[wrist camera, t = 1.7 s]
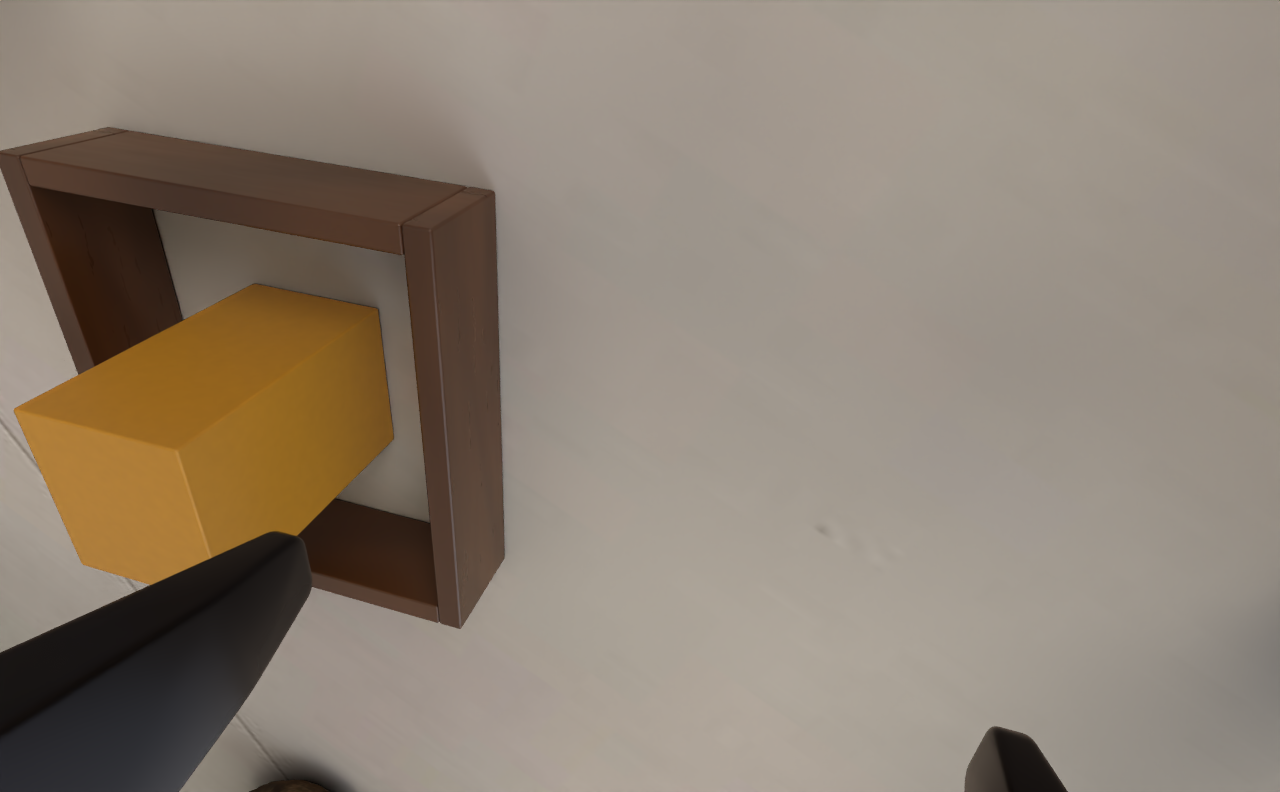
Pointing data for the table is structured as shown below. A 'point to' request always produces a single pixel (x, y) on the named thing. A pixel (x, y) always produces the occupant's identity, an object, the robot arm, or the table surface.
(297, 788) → the fossilized seashell
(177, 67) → the table surface
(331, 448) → the ochre block
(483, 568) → the brown wooden square frame
